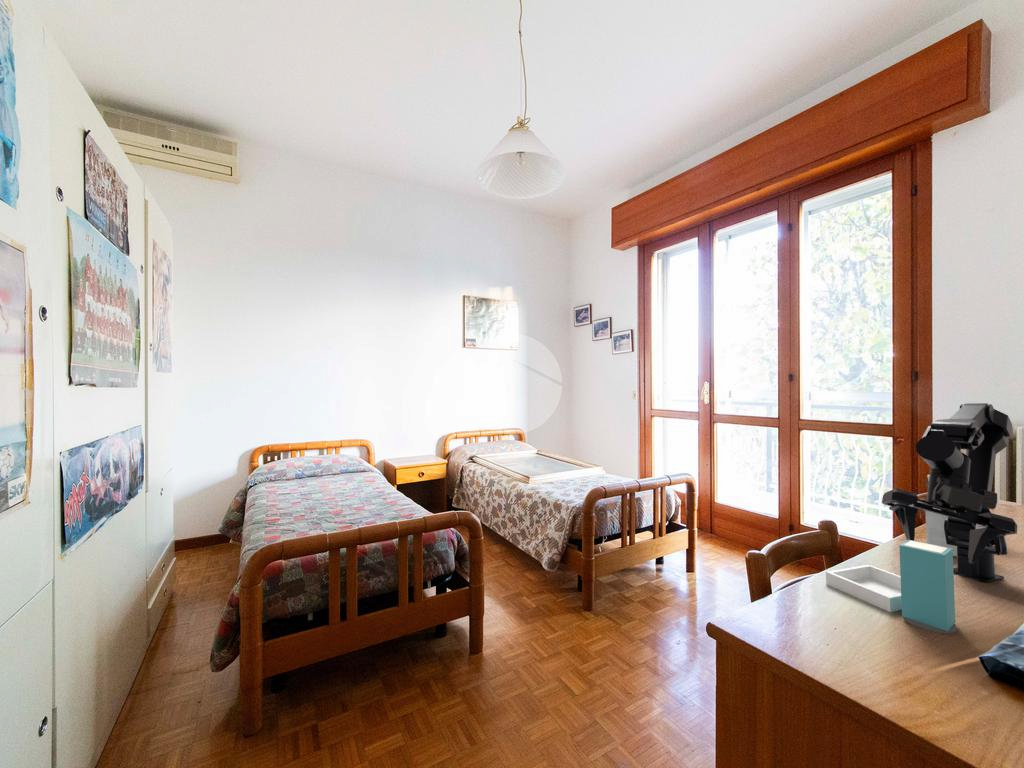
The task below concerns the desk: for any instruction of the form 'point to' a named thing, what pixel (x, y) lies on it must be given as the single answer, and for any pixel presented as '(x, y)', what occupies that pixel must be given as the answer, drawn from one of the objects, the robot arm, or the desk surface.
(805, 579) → the desk surface
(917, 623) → the charcoal coaster
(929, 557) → the teal carton
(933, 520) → the small box
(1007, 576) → the desk surface
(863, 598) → the white tray
